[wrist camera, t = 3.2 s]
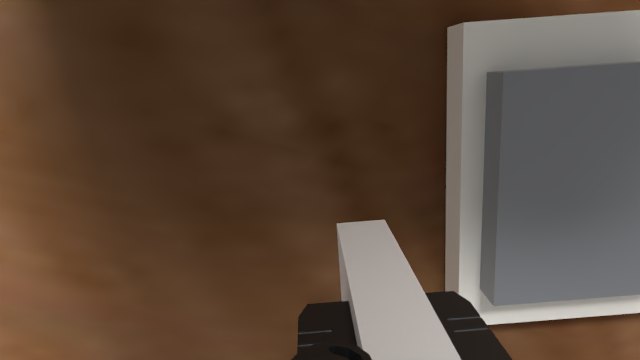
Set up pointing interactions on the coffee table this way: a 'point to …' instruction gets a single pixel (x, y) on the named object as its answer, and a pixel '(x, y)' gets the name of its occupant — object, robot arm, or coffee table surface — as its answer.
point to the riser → (469, 135)
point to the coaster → (561, 184)
